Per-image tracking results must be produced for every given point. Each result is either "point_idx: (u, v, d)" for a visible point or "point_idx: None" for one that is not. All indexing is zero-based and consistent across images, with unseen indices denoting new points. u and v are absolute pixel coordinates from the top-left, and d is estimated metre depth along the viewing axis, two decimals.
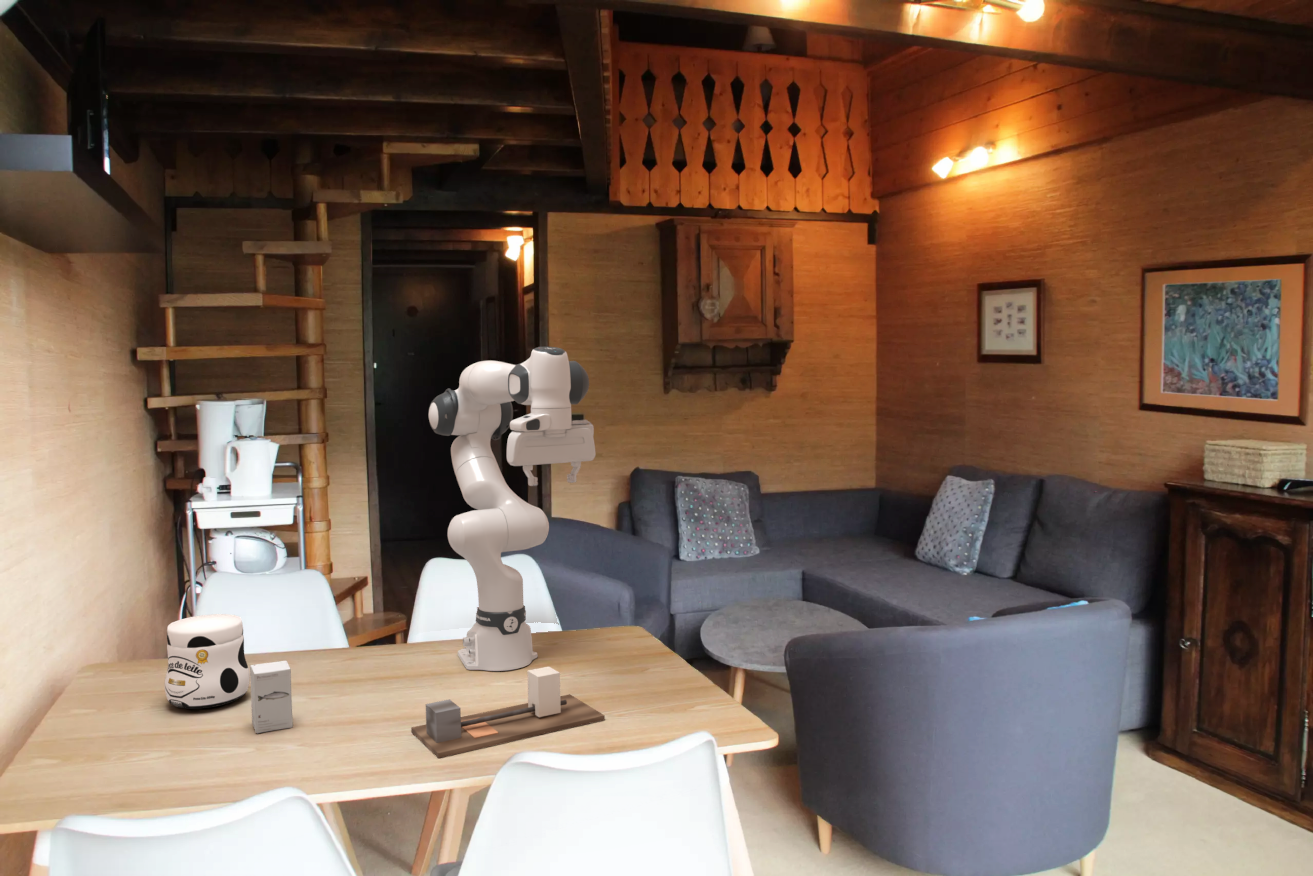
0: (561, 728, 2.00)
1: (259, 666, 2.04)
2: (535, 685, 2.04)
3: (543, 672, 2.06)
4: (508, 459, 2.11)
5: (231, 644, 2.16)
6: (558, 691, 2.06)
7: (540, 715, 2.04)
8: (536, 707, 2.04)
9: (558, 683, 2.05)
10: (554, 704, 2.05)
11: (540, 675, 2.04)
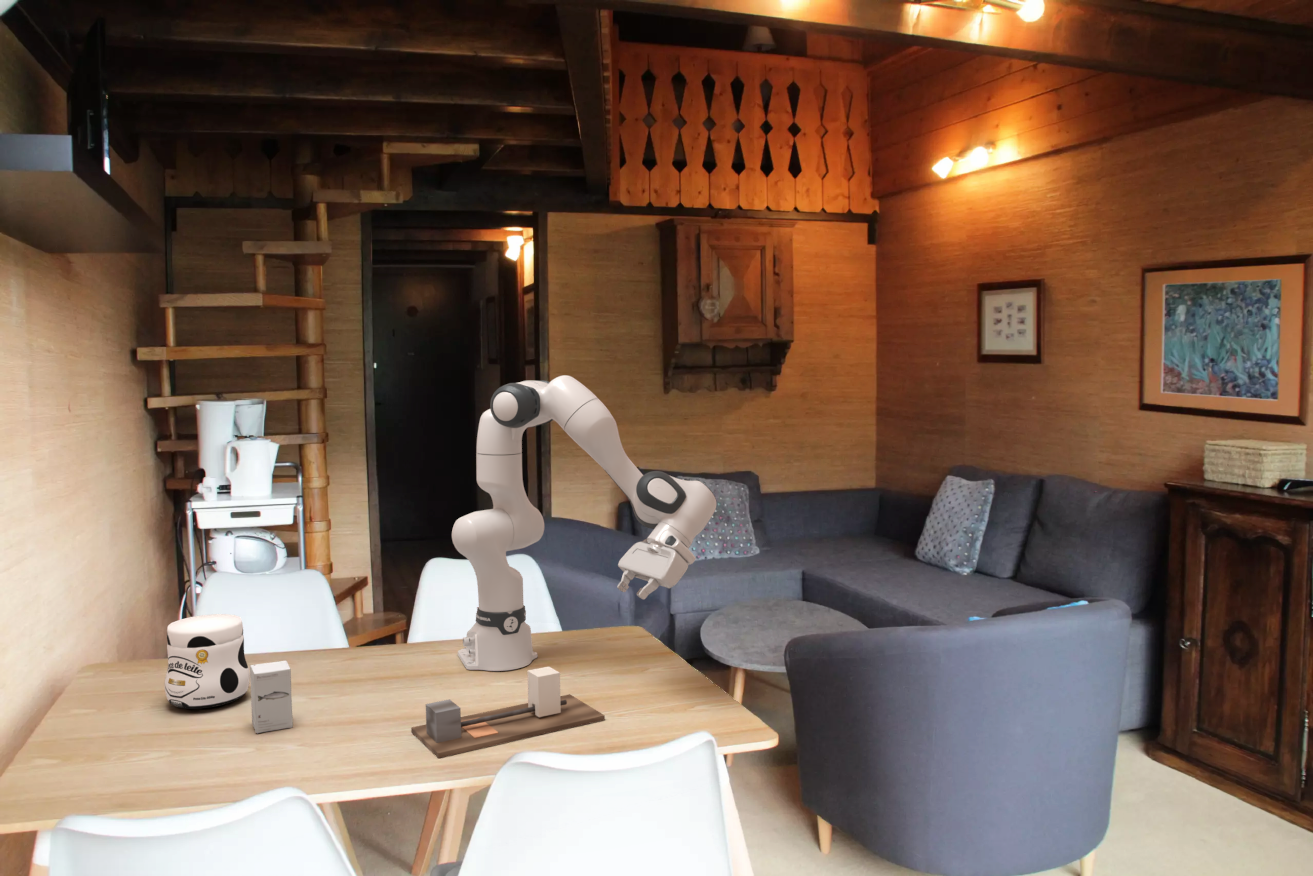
0: (561, 728, 2.00)
1: (259, 666, 2.04)
2: (535, 685, 2.04)
3: (543, 672, 2.06)
4: (668, 578, 2.10)
5: (231, 644, 2.16)
6: (558, 691, 2.06)
7: (540, 715, 2.04)
8: (536, 707, 2.04)
9: (558, 683, 2.05)
10: (554, 704, 2.05)
11: (540, 675, 2.04)
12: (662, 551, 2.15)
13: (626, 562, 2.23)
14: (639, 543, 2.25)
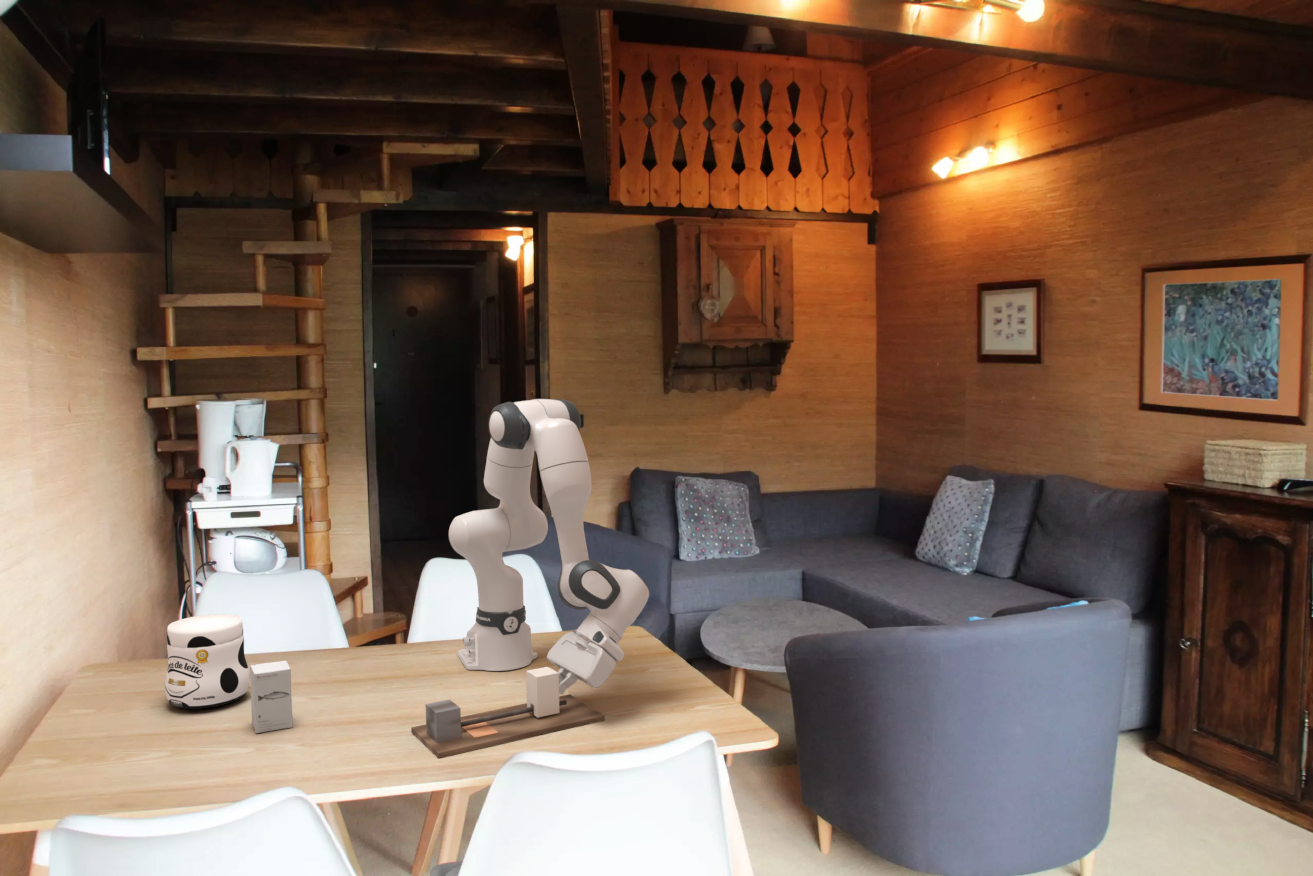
0: (561, 728, 2.00)
1: (259, 666, 2.04)
2: (534, 685, 2.04)
3: (541, 672, 2.06)
4: (594, 678, 2.01)
5: (231, 644, 2.16)
6: (557, 691, 2.05)
7: (539, 715, 2.03)
8: (535, 707, 2.04)
9: (557, 683, 2.05)
10: (552, 704, 2.05)
11: (539, 675, 2.04)
12: (590, 647, 2.07)
13: (554, 655, 2.15)
14: (568, 635, 2.17)
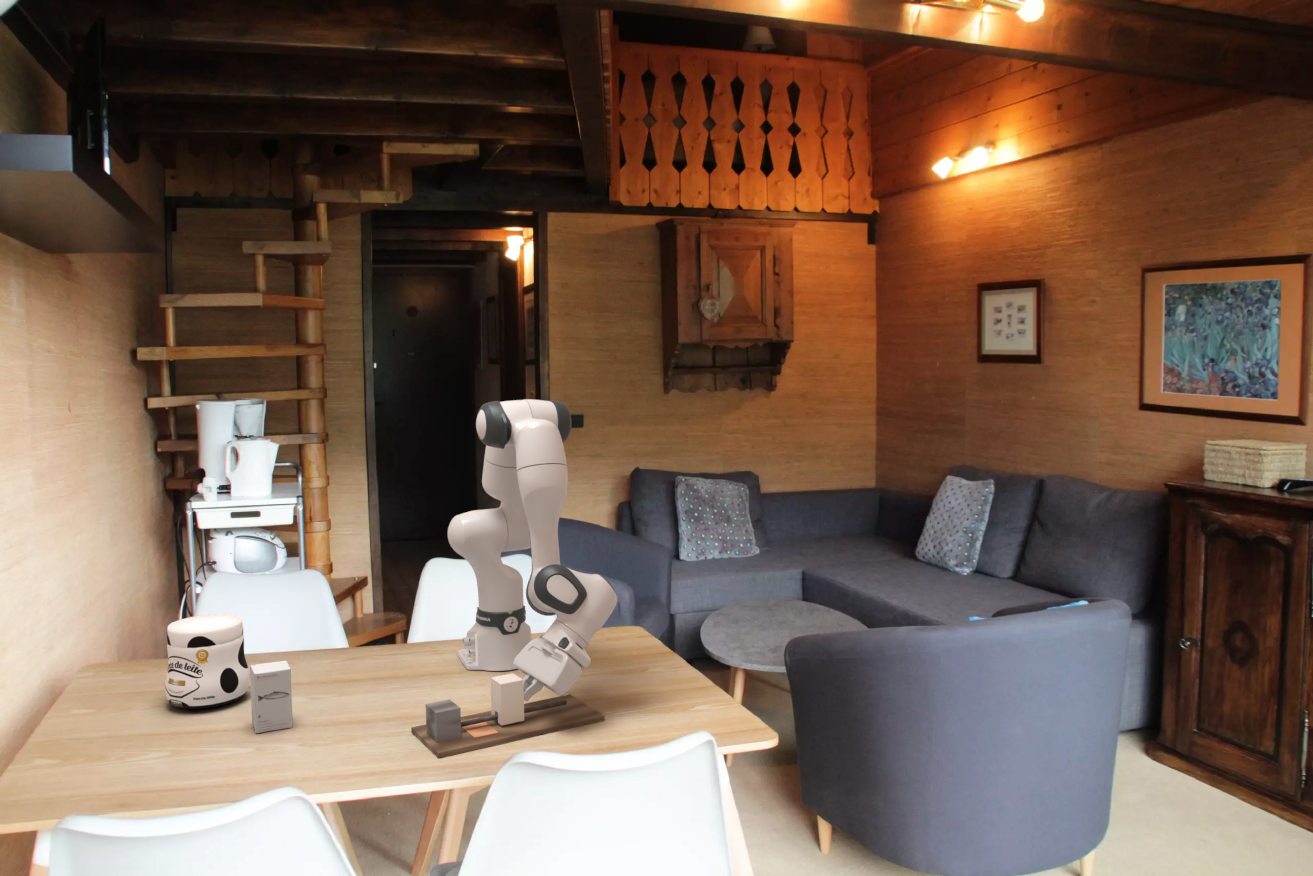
0: (561, 728, 2.00)
1: (259, 666, 2.04)
2: (498, 692, 2.00)
3: (506, 679, 2.01)
4: (559, 685, 1.97)
5: (231, 644, 2.16)
6: (521, 699, 2.01)
7: (503, 723, 1.99)
8: (499, 715, 2.00)
9: (521, 690, 2.01)
10: (517, 711, 2.01)
11: (503, 682, 1.99)
12: (555, 653, 2.03)
13: (520, 662, 2.11)
14: (535, 640, 2.13)
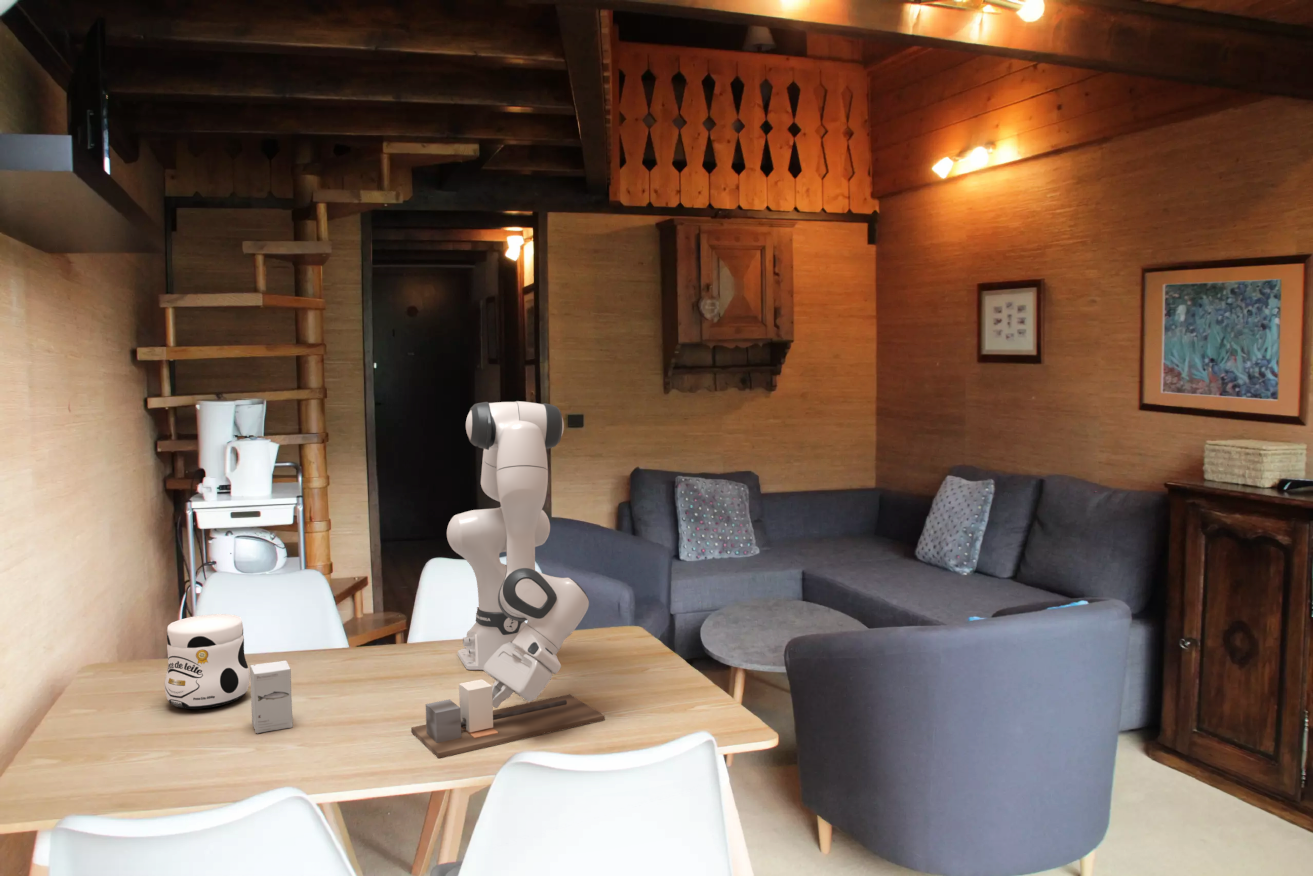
0: (561, 728, 2.00)
1: (259, 666, 2.04)
2: (466, 698, 1.96)
3: (474, 685, 1.98)
4: (527, 691, 1.93)
5: (231, 644, 2.16)
6: (490, 705, 1.98)
7: (471, 730, 1.96)
8: (467, 722, 1.96)
9: (490, 697, 1.97)
10: (485, 718, 1.97)
11: (471, 688, 1.96)
12: (525, 659, 1.99)
13: (490, 667, 2.07)
14: (506, 645, 2.09)
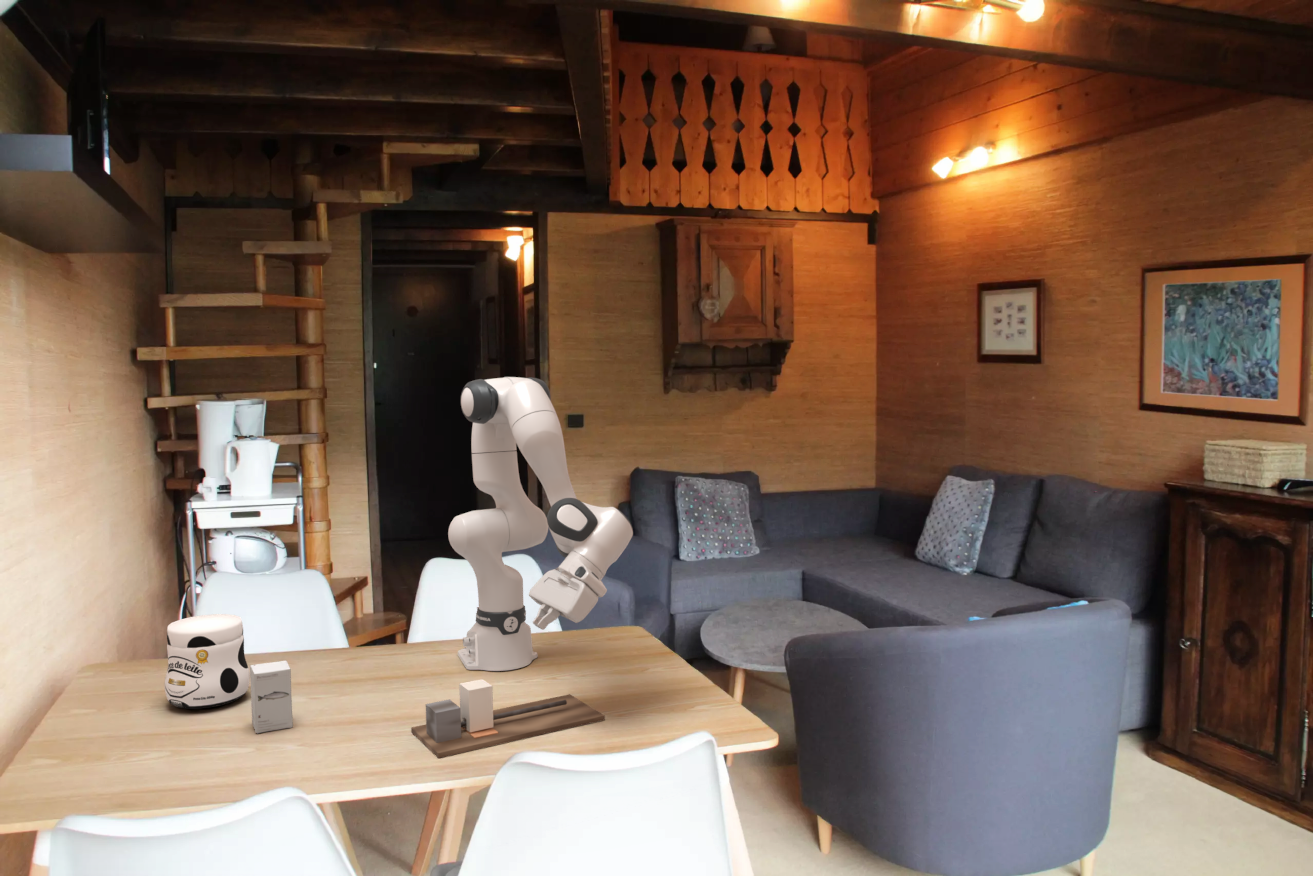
0: (561, 728, 2.00)
1: (259, 666, 2.04)
2: (466, 698, 1.96)
3: (475, 685, 1.98)
4: (575, 612, 1.98)
5: (231, 644, 2.16)
6: (491, 705, 1.98)
7: (471, 730, 1.96)
8: (467, 722, 1.96)
9: (490, 697, 1.98)
10: (486, 718, 1.97)
11: (471, 688, 1.96)
12: (572, 582, 2.04)
13: (536, 592, 2.12)
14: (551, 572, 2.14)
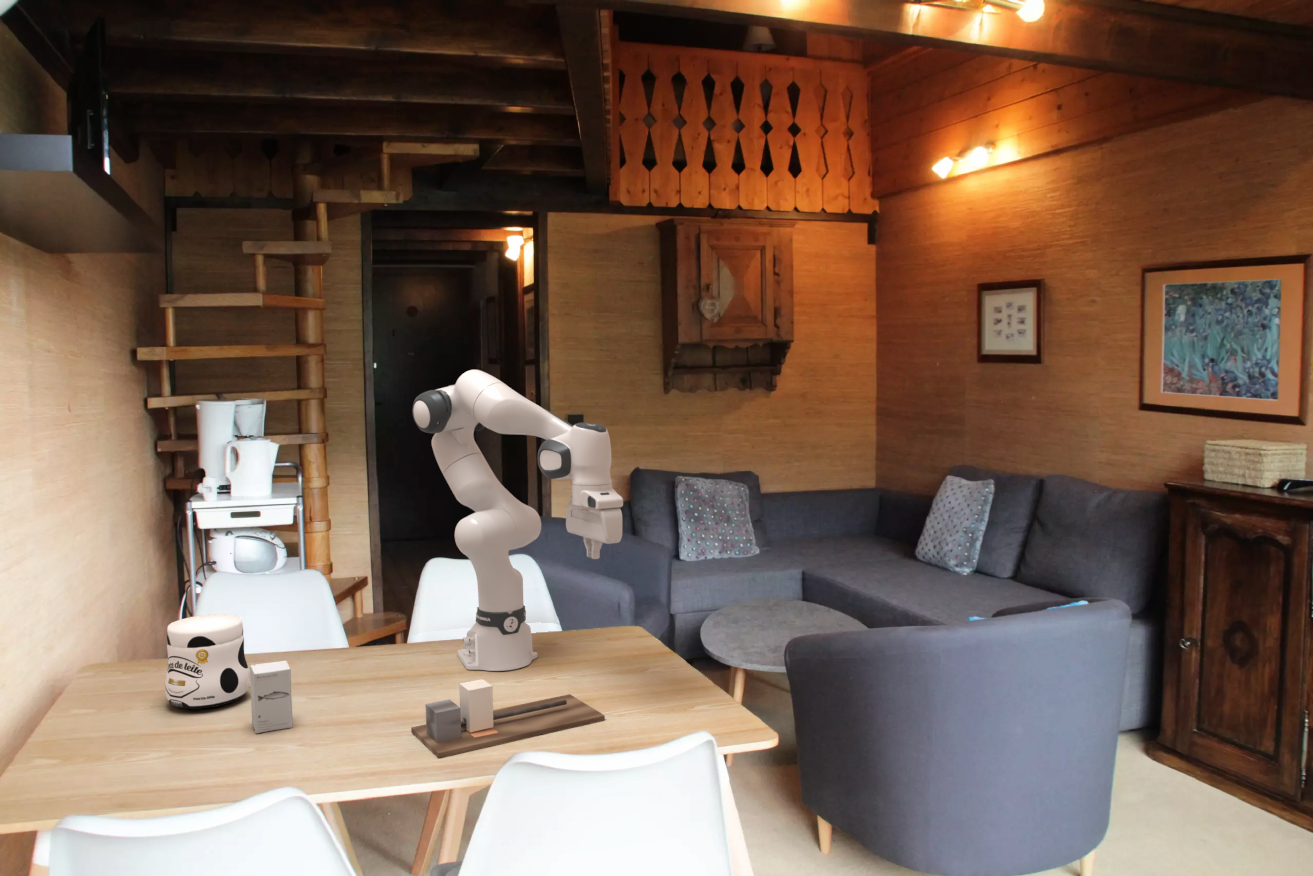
0: (561, 728, 2.00)
1: (259, 666, 2.04)
2: (466, 698, 1.96)
3: (475, 685, 1.98)
4: (612, 538, 2.10)
5: (231, 644, 2.16)
6: (491, 705, 1.98)
7: (471, 730, 1.96)
8: (467, 722, 1.96)
9: (490, 697, 1.98)
10: (486, 718, 1.97)
11: (471, 688, 1.96)
12: (591, 512, 2.13)
13: (572, 528, 2.23)
14: (570, 504, 2.23)
